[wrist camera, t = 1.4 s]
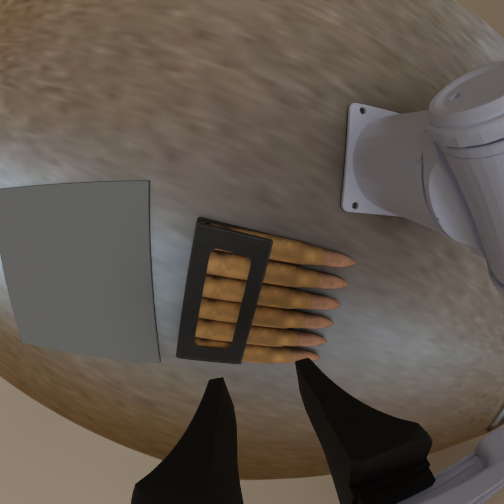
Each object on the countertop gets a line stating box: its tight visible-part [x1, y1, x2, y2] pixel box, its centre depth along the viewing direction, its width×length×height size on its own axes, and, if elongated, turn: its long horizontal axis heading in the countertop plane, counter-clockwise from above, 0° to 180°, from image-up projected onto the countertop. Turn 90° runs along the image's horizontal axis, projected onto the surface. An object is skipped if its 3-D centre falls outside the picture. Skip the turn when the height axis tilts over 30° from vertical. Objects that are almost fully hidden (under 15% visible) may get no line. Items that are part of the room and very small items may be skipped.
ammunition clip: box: [176, 217, 355, 364], centre depth 22 cm, size 11×2×12 cm
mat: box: [0, 181, 160, 363], centre depth 21 cm, size 15×15×1 cm
